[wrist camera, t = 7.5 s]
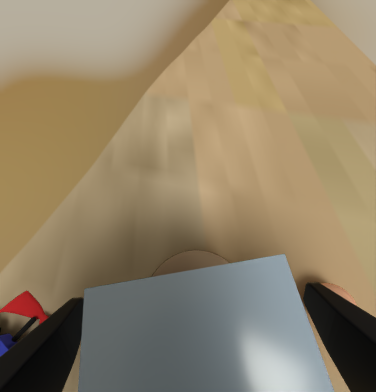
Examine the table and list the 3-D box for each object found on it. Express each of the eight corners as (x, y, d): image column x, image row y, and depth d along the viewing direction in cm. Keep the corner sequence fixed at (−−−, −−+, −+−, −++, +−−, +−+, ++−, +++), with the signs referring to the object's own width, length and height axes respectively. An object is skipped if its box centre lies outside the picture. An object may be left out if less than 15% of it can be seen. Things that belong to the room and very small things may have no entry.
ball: (342, 327, 15) (375, 339, 12) (302, 320, 15) (325, 329, 12) (336, 286, 16) (365, 287, 13) (299, 279, 16) (320, 279, 13)
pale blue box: (239, 335, 14) (379, 516, 3) (166, 348, 14) (65, 585, 3) (224, 271, 16) (284, 253, 5) (160, 282, 16) (84, 288, 5)
